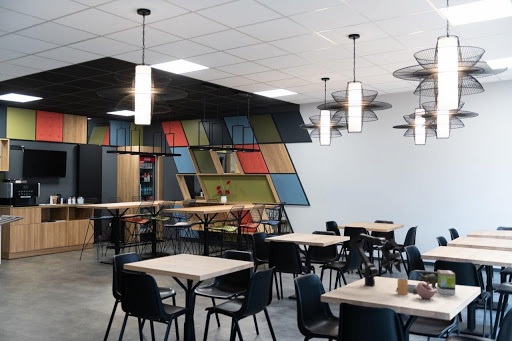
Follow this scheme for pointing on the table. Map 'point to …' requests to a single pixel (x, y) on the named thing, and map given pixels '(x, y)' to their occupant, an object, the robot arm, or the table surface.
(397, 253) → the robot arm
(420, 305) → the table surface
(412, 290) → the chassis
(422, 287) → the mortar and pestle
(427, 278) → the dinosaur figurine
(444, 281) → the tea box
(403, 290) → the orange block gray top
